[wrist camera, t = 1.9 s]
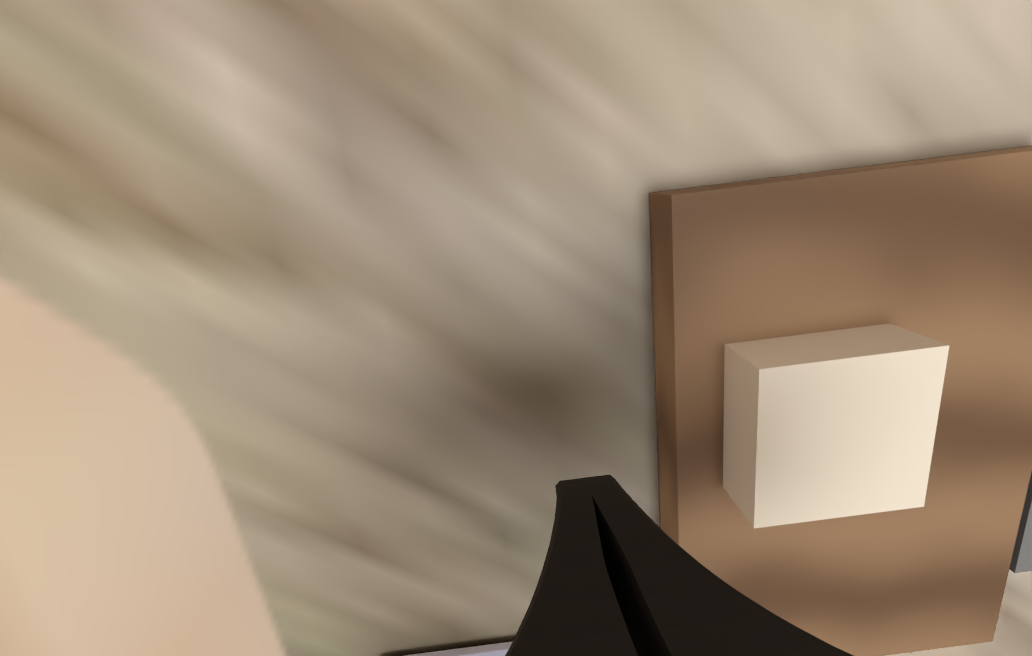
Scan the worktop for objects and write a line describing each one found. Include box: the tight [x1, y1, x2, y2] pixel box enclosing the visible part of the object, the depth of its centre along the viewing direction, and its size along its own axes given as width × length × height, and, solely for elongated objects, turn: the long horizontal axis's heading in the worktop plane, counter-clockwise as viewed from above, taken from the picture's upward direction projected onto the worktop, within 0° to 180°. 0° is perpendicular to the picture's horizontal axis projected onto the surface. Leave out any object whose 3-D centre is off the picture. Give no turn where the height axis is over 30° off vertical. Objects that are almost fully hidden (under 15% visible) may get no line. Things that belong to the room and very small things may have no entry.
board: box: [649, 146, 1032, 656], centre depth 17 cm, size 18×12×2 cm, turn 7°
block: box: [723, 323, 949, 528], centre depth 14 cm, size 5×5×2 cm
